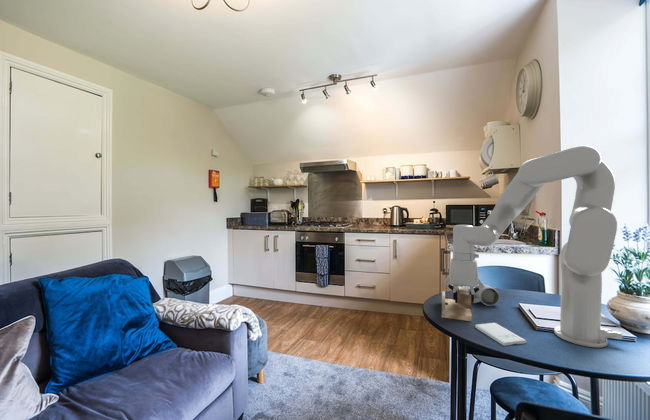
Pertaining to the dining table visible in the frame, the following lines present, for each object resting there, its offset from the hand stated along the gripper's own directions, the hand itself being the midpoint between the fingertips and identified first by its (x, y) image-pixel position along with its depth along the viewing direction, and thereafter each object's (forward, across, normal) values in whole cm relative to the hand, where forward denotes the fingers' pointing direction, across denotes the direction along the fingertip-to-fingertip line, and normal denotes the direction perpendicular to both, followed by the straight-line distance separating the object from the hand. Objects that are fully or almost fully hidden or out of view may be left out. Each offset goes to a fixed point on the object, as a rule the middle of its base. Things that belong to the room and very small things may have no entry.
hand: (463, 302), depth 109 cm
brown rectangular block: (0, 0, 0) cm, 0 cm away
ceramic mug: (+5, -8, -15) cm, 18 cm away
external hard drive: (+5, -10, +15) cm, 18 cm away
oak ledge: (+4, +2, -1) cm, 5 cm away
